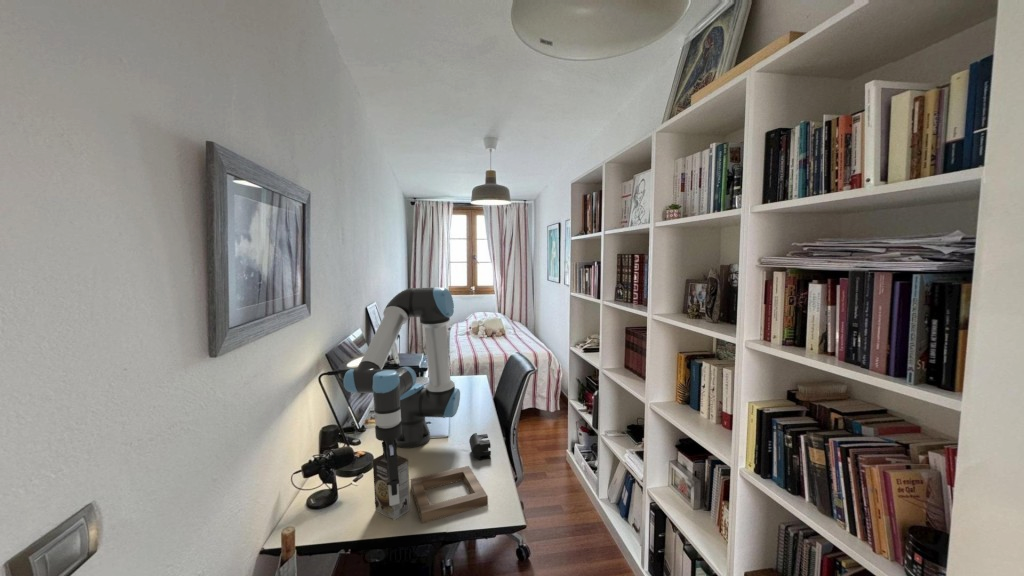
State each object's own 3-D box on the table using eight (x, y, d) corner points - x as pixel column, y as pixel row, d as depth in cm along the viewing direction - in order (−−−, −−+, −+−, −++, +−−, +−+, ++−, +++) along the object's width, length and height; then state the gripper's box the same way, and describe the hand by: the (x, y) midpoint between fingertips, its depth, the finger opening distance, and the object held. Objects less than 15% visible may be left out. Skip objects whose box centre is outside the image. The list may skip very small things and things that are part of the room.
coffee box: (374, 510, 123) (371, 459, 122) (391, 500, 129) (388, 450, 127) (394, 521, 118) (391, 467, 117) (411, 509, 123) (408, 458, 122)
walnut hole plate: (411, 487, 135) (410, 479, 135) (469, 473, 143) (468, 465, 143) (422, 523, 117) (421, 513, 117) (487, 505, 124) (487, 495, 124)
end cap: (469, 450, 161) (468, 433, 161) (487, 447, 163) (486, 431, 162) (472, 462, 151) (471, 444, 151) (491, 459, 153) (490, 442, 152)
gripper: (372, 411, 131) (375, 474, 133) (378, 442, 108) (382, 519, 110) (396, 407, 134) (399, 469, 136) (407, 437, 111) (410, 511, 113)
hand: (391, 491), depth 123 cm, fingers open, 13 cm apart
